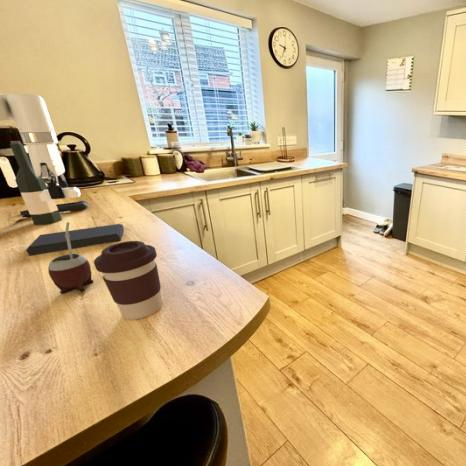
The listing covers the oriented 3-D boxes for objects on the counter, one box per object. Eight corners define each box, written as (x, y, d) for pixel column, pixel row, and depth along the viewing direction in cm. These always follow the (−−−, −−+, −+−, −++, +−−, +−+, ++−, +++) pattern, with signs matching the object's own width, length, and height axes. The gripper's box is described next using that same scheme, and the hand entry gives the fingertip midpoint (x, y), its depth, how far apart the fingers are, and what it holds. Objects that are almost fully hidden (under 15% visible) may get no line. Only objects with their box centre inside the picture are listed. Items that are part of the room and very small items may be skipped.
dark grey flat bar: (28, 255, 85) (25, 248, 84) (41, 241, 95) (38, 234, 94) (120, 240, 96) (118, 233, 95) (124, 229, 106) (122, 223, 105)
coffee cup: (144, 328, 57) (122, 260, 51) (102, 321, 59) (76, 256, 53) (180, 299, 66) (164, 239, 60) (142, 294, 68) (124, 235, 62)
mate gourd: (65, 299, 66) (39, 238, 60) (51, 289, 69) (25, 231, 63) (103, 283, 72) (83, 227, 66) (89, 275, 75) (68, 221, 69)
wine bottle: (41, 226, 108) (5, 142, 96) (27, 223, 110) (-9, 141, 99) (67, 219, 115) (37, 140, 104) (54, 217, 117) (23, 140, 106)
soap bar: (44, 197, 94) (40, 189, 93) (80, 193, 99) (78, 186, 98) (41, 201, 90) (38, 192, 89) (79, 197, 95) (76, 189, 94)
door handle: (26, 205, 124) (18, 212, 112) (87, 197, 136) (85, 203, 124) (29, 212, 125) (21, 220, 113) (89, 204, 137) (88, 210, 125)
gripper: (33, 137, 93) (54, 192, 99) (10, 140, 79) (36, 204, 86) (64, 136, 96) (82, 189, 103) (47, 140, 82) (69, 201, 89)
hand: (61, 195), depth 94 cm, fingers closed on soap bar, 5 cm apart
